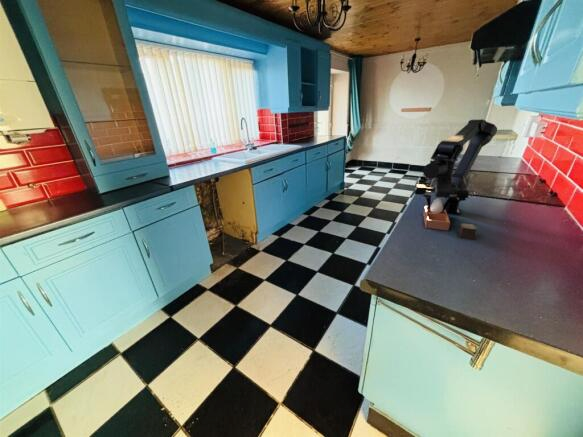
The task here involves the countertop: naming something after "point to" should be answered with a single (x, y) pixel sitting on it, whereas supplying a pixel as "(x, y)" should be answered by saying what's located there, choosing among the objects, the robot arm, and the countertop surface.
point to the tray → (436, 219)
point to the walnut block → (467, 231)
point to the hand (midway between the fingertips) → (435, 210)
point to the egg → (436, 206)
